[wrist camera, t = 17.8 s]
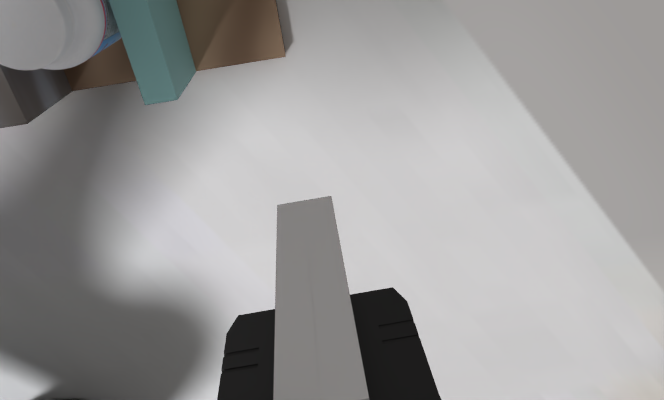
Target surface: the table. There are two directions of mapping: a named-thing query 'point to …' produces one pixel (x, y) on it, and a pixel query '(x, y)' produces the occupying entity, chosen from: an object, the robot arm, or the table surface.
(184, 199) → the table surface
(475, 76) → the table surface
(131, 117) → the table surface
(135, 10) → the sliding jaw
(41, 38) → the pill bottle
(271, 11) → the clamp board
